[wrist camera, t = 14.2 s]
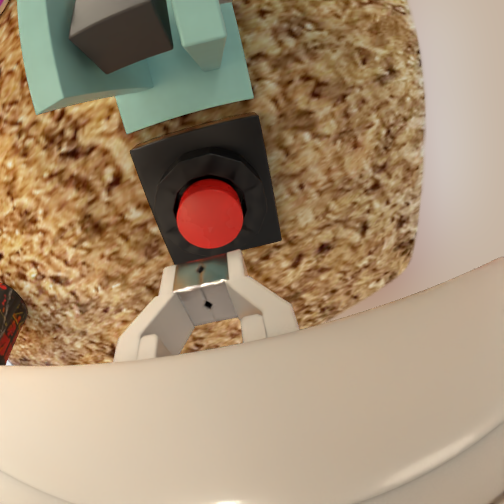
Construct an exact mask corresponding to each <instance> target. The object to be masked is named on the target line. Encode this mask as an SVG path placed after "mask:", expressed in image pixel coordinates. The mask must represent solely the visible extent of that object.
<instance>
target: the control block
mask: <svg viewBox="0 0 504 504" xmlns="http://www.w3.org/2000/svg"><path fill="white" fill-rule="evenodd" d="M130 154H131V156H132V159H133V162H134V165H135V168H136V171H137V173H138V176H139V179H140V181H141V184H142V187H143V189H144V192H145V195H146V197H147V200H148V202H149V205H150V208H151V210H152V213H153V215H154V217H155V220H156V222H157V225H158V227H159V230H160V232H161V234H162V237H163V239H164V241H165V244H166V246H167V248H168V251H169V253H170V255H171V258H172V260H173V262H174V264H175V265H177V264H181V263H185V262H190V261H195V260H199V259H205V258H209V257H213V256H216V255H220V254H224V253H227V252H231V251H234V250H238V249H240V250H244V249H249V248H253V247H257V246H261V245H266V244H270V243H274V242H278V241H281V240H282V238H281V232H280V226H279V221H278V215H277V209H276V203H275V198H274V192H273V187H272V181H271V176H270V171H269V165H268V160H267V155H266V150H265V145H264V139H263V134H262V129H261V125H260V120H259V116H258V115H257V114H256V113H255V112H253V113H248V114H243V115H238V116H234V117H229V118H225V119H221V120H217V121H213V122H209V123H205V124H201V125H198V126H194V127H190V128H187V129H184V130H180V131H177V132H174V133H170V134H167V135H164V136H161V137H158V138H155V139H152V140H149V141H146V142H143V143H141V144H138V145H136V146H135V147H134V148H133V149H132V150H130ZM203 179H217V180H221V181H224V182H226V183H227V184H229V185H230V186H231V187H233V188H234V190H235V191H236V192H237V194H238V196H239V199H240V203H241V208H242V212H243V225H242V228H241V230H240V232H239V234H238V235H237V236H236V238H235V239H234V240H233V241H231V242H230V243H228V244H227V245H224V246H222V247H219V248H212V249H207V248H201V247H197V246H195V245H193V244H191V243H190V242H188V241H187V240H186V239H185V238H184V237H183V236H182V235H181V233H180V231H179V229H178V226H177V211H178V208H179V204H180V200H181V197H182V195H183V193H184V192H185V190H186V189H187V188H188V187H189V186H190V185H192V184H193V183H195V182H197V181H200V180H203Z"/></svg>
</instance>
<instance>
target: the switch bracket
mask: <svg viewBox="0 0 504 504" xmlns="http://www.w3.org/2000/svg"><path fill="white" fill-rule="evenodd" d="M166 1H167V8H168V15H169V21H170V28H171V34H172V40H173V46H174V47H173V50H170V51H167V52H164V53H161V54H158V55H155V56H152V57H149V58H147V59H144V60H141V61H139V62H136V63H133V64H131V65H128V66H126V67H124V68H121V69H119V70H117V71H114V72H112V73H110V74H105V73H104V72H103V71H102V70H101V69H100V68H99V67H98V66H97V65H96V64H95V63H94V62H93V61H92V60H90V59H89V58H88V57H87V56H86V55H85V54H84V53H83V52H82V51H81V50H80V49H79V48H78V47H77V46H76V45H75V44H73V43H72V42H71V41H70V40H69V30H70V24H71V18H72V13H73V8H74V3H75V0H17V11H18V24H19V34H20V42H21V49H22V55H23V61H24V66H25V72H26V76H27V81H28V85H29V90H30V94H31V98H32V102H33V105H34V109H35V113H36V115H39V114H42V113H45V112H49V111H52V110H56V109H59V108H63V107H67V106H71V105H75V104H79V103H83V102H87V101H92V100H97V99H102V98H107V97H113V96H115V98H116V101H117V105H118V108H119V111H120V115H121V118H122V121H123V124H124V128H125V131H126V134H129V133H132V132H135V131H137V130H140V129H143V128H146V127H149V126H151V125H154V124H157V123H160V122H163V121H166V120H170V119H173V118H176V117H179V116H183V115H186V114H189V113H193V112H197V111H200V110H204V109H208V108H212V107H216V106H220V105H224V104H229V103H233V102H238V101H242V100H247V99H252V98H254V96H253V91H252V86H251V82H250V77H249V73H248V68H247V64H246V60H245V55H244V51H243V47H242V43H241V38H240V34H239V30H238V26H237V22H236V18H235V14H234V10H233V6H232V0H166Z"/></svg>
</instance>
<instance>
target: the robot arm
mask: <svg viewBox="0 0 504 504" xmlns="http://www.w3.org/2000/svg"><path fill="white" fill-rule="evenodd" d="M237 317H238V319H239V320H240V321H241V329H242V339H243V343H240V344H235V345H230V346H225V347H220V348H214V349H209V350H203V351H197V352H191V353H185V354H180V352H181V350H182V348H183V347H184V345H185V343H186V342H187V340H188V338H189V336H190V335H191V333H192V331H193V329H194V328H195V327H194V326H197V325H202V324H206V323H211V322H215V321H221V320H226V319H232V318H237ZM0 504H504V257H500V258H497V259H495V260H493V261H491V262H489V263H487V264H484V265H482V266H480V267H478V268H476V269H474V270H472V271H469V272H467V273H465V274H462V275H460V276H458V277H455V278H453V279H451V280H448V281H446V282H443V283H441V284H438V285H436V286H433V287H431V288H428V289H426V290H423V291H421V292H418V293H415V294H413V295H410V296H407V297H405V298H402V299H399V300H396V301H394V302H390V303H388V304H384V305H382V306H379V307H376V308H373V309H369V310H366V311H363V312H360V313H357V314H354V315H351V316H347V317H344V318H340V319H337V320H334V321H330V322H327V323H323V324H320V325H316V326H313V327H309V328H305V329H301V330H299V326H298V323H297V320H296V317H295V314H294V310H293V307H292V305H291V304H290V303H288V302H287V301H285V300H284V299H282V298H281V297H279V296H278V295H276V294H275V293H273V292H272V291H270V290H269V289H268V288H266V287H265V286H263V285H262V284H260V283H259V282H257V281H256V280H254V279H253V278H251V277H250V276H248V274H247V270H246V266H245V263H244V259H243V255H242V252H241V250H240V249H238V250H234V251H231V252H227V253H224V254H220V255H216V256H213V257H209V258H205V259H199V260H195V261H190V262H185V263H181V264H177V265H172V266H168V267H165V268H164V270H163V275H162V280H161V285H160V290H159V296H156V297H154V298H153V300H152V301H151V302H150V303H149V304H148V305H147V306H146V307H145V308H144V310H143V311H142V312H141V313H140V314H139V315H138V316H137V317H136V319H135V320H134V321H133V322H132V323H131V324H130V325H129V327H128V328H127V329H126V330H125V331H124V332H123V333H122V335H121V336H120V337H119V338H118V342H117V346H116V351H115V355H114V360H113V362H112V363H100V364H85V365H64V366H6V365H0Z"/></svg>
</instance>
